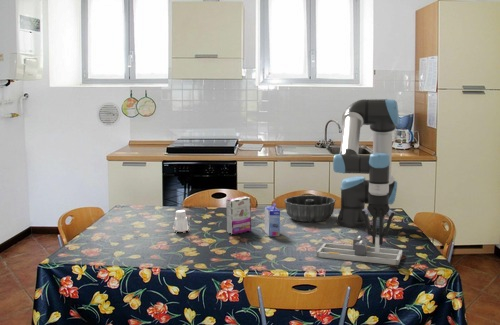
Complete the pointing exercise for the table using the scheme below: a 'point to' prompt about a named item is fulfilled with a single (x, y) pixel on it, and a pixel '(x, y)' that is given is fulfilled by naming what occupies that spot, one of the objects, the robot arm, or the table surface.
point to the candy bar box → (238, 215)
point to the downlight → (181, 221)
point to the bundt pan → (310, 207)
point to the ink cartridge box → (272, 221)
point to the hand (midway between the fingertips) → (377, 252)
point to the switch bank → (349, 254)
